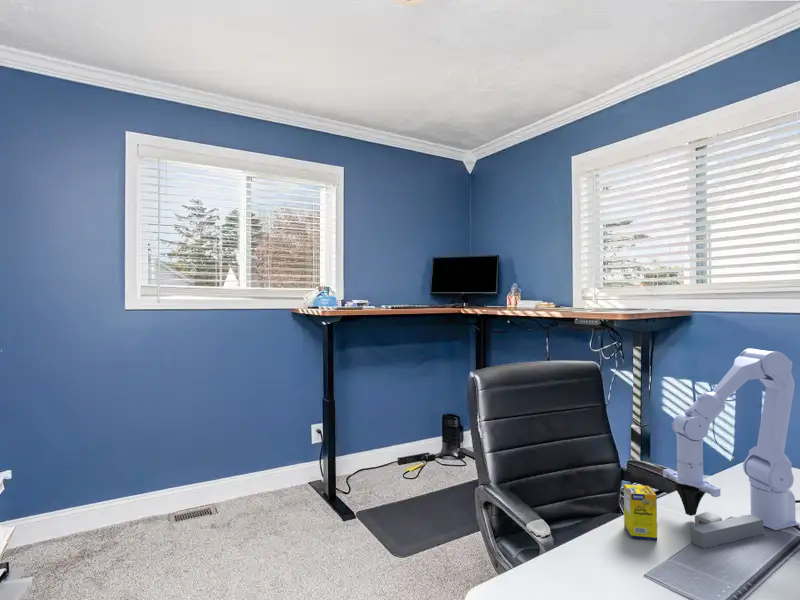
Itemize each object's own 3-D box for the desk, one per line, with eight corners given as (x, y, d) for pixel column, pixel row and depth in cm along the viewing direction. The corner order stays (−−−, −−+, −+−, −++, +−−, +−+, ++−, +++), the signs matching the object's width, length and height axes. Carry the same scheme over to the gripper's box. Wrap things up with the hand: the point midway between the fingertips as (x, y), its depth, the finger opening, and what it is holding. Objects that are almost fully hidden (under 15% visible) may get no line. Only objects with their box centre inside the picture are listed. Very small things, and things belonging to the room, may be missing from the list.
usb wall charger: (694, 530, 114) (694, 514, 114) (711, 524, 117) (711, 508, 117) (711, 537, 110) (711, 521, 110) (728, 531, 113) (728, 515, 113)
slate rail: (750, 528, 114) (750, 514, 114) (763, 534, 111) (763, 519, 111) (691, 542, 108) (690, 527, 108) (703, 548, 105) (702, 533, 105)
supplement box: (658, 541, 108) (657, 495, 109) (630, 539, 110) (630, 493, 110) (649, 529, 114) (648, 485, 114) (623, 527, 115) (623, 483, 116)
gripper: (654, 454, 124) (655, 505, 124) (705, 472, 111) (706, 529, 110) (673, 451, 127) (674, 501, 127) (726, 469, 113) (727, 524, 113)
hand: (690, 514), depth 119 cm, fingers closed
